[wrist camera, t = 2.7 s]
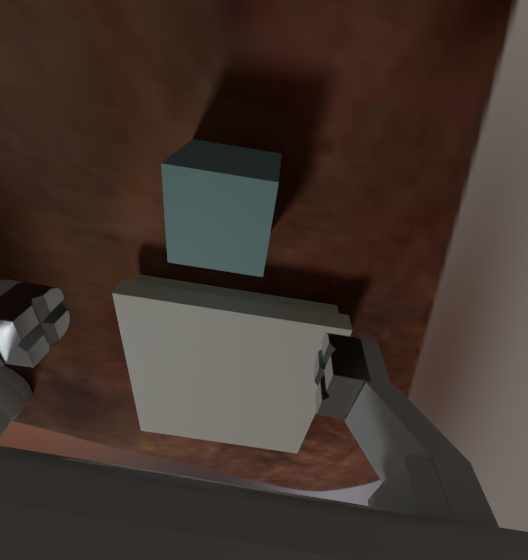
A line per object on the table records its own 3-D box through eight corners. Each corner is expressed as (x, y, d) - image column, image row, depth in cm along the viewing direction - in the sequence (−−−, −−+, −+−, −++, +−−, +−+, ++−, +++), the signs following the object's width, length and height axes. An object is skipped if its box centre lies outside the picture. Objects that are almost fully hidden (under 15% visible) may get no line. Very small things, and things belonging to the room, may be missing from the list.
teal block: (192, 138, 17) (161, 163, 13) (281, 153, 17) (278, 182, 13) (193, 220, 20) (167, 262, 16) (268, 232, 20) (262, 277, 16)
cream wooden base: (131, 267, 22) (112, 293, 20) (345, 301, 22) (352, 330, 20) (152, 403, 33) (141, 430, 30) (296, 424, 33) (297, 453, 31)
